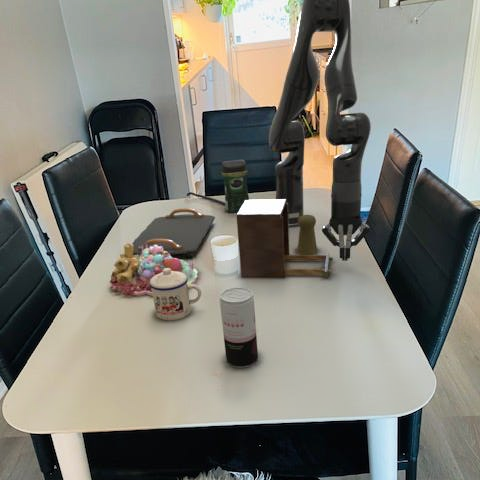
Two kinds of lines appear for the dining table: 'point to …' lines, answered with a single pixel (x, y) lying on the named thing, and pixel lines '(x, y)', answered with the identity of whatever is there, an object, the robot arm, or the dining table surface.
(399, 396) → the dining table surface
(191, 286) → the teacup with lid
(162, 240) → the serving tray
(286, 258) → the drawer
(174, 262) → the pastel sphere sculpture
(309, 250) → the olive peg doll
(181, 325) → the dining table surface
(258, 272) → the cabinet
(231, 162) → the coffee jar
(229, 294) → the beverage can
